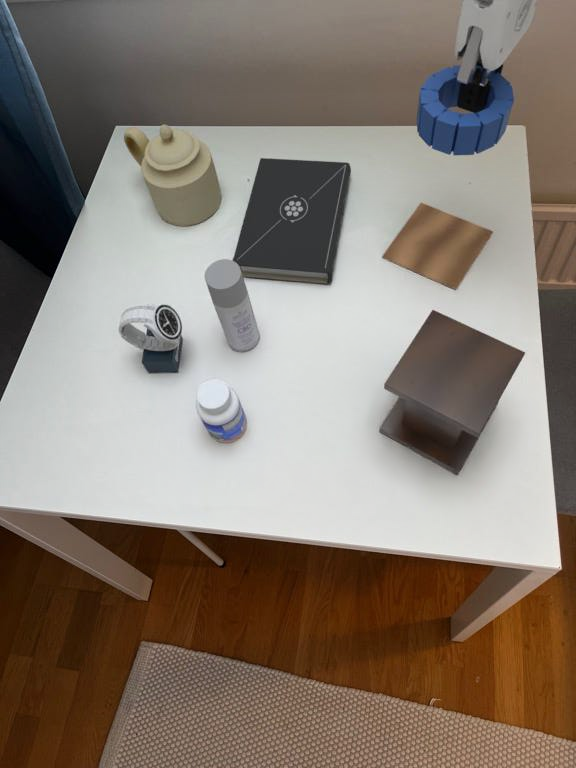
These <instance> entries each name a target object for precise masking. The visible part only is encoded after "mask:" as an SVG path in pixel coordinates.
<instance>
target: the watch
mask: <svg viewBox="0 0 576 768" xmlns="http://www.w3.org/2000/svg"><path fill="white" fill-rule="evenodd" d="M133 323H142V324H143V326H144V327H145V328H146V333H145V332H144V331H142V330H140V329H138V328H137V327H135V326H134V325H132V324H133ZM118 333H119V335H120V338H122V339H123V340H124V341H126V342H127V343H129V344H130V345H131V346H134V348H137V349H140V350H142V351H143V352H142V356H141V357H142V358H141V365H143V368H144V369H145V370H146V371H147V373H148V374H162V373H163V374H167V373H170V374H171V373H173V374H174V373H180V372H179V371H180V363H181V357H182V348H183V341H184V338H183V335H182V333H183V324H182V320H181V317H180V315H179V314H178V312H177V310H176V309H175V308H173V307H172V306H171V304H169V303H162V304H152V303H148V304H147V305H135V306H131V307H129V308H126V309H125V310H124V311H123V312H122V313H121V315H120V321H119V326H118Z"/></svg>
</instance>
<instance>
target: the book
mask: <svg viewBox="0 0 576 768" xmlns="http://www.w3.org/2000/svg"><path fill="white" fill-rule="evenodd" d="M351 168H352V167H351V165H350V163H349V162H347V161H346V162H343V161H326V160H325V161H324V160H307V159H306V160H305V159H289V158H288V159H287V158H286V159H283V158H267V157H265V158H264V157H260V158H259V162H258V166H257V169H256V173H255V177H254V179H253V180H254V181H253V183H252V188H251V192H250V195H249V199H248V202H247V207H246V209H245V213H244V218H243V222H242V225H241V228H240V233H239V236H238V240H237V243H236V247H235V251H234V255H233V257H232V261H234V262H236V263H237V264H238V265H239V267H240V269H241V272H242V275H243V278H248V279H258V280H259V279H260V280H271V281H282V282H293V283H305V284H316V285H326V286H327V285H328V286H329V285H331V284H332V281H333V275H334V271H335V263H336V257H337V252H338V247H339V242H340V235H341V229H342V224H343V219H344V213H345V207H346V202H347V197H348V190H349V185H350V180H351V175H352V169H351Z"/></svg>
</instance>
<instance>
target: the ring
mask: <svg viewBox="0 0 576 768" xmlns="http://www.w3.org/2000/svg"><path fill="white" fill-rule="evenodd" d="M460 66H461V64H458V65H457V64H456V65H452V67H451V66H447V67H445V68H442V69H440V70H438V71H435V72H433V73H432V75H429V77H428V78H427V79H426V80H425V82H424V83H423V84H422V86H420V90H419V96H418V105H417V113H416V133H418V136H419V138H420V139H421V140H422V141H423V142H424V143H425V144H426V145H427V146H428V147H429V148H430V147H431V149H432V150H435V151H437V152H440V153H443V154H446V155H449V156H451V155H452V154H453V156H473V155H475V153H476V155H478V154H481V153H483V152H485V151H487V150H489V149H492V148H493V147H495V145H498V143H499V142H500V140H501V139H502V137H503V135H504V134H505V133H506V130H507V127H508V122H509V120H510V116H511V112H512V109H513V106H514V101H515V95H514V91H513V85H511V82H510V81H509V80H507V78H505V77H504V76H503V75H502V73H501V74H500V73H495V70H493V71H491V72H490V76H489V79H488V81H490V82H491V84H490V89H489V93H488V97H487V101H486V105H485V109H484V110H482V111H480V112H478V113H473V112H471V113H470V112H469V113H468V112H467V113H461V112H457V111H454V110H451V109H450V108H459V107H458V106H457V102H458V97H459V91H460V86H461V82H459V81H457V76H458V73H459V70H460ZM476 68H479V69H481V70H482V71H483V67H482V66H478V65H476Z"/></svg>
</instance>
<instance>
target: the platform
mask: <svg viewBox="0 0 576 768" xmlns="http://www.w3.org/2000/svg"><path fill="white" fill-rule="evenodd" d="M525 354H526V351H523V350H521V349H519V348H517V347H514V346H512V345H510V344H508V343H506V342H504V341H501V340H499V339H497V338H495V337H493V336H491V335H488V334H486V333H484V332H482V331H480V330H478V329H476V328H474V327H471V326H469V325H467V324H465V323H463V322H461V321H458V320H457V319H454V318H452V317H451V316H448V315H446V314H443V313H441V312H440V311H437V310H434V309H432V310H431V311H430V313H429V314H428V316H427V317H426V319H425V320H424V322H423V324H422V325H421V326H420V328H419V329H418V332H417V333H416V334H415V335H414V338H413V339H412V341H411V342H410V344H409V345H408V347H407V348H406V350H405V351H404V353H403V354H402V356H401V358H400V359H399V361H398V362H397V364H396V365H395V367H394V368H393V370H392V371H391V373H390V375H389V376H388V378H387V379H386V380H385V382H384V385H383V389H384V390H386V391H387V392H390V393H391V394H392V395H393V394H394V395H395V396H397V397H398V398H397V400H396V401H395V403H394V404H393V406H392V408H391V409H390V411H389V412H388V414H387V416H386V418H385V419H384V421H383V422H382V423H381V425H380V427H379V433H380V434H382V435H384V436H386V437H388V438H389V439H391V440H393V441H395V442H396V443H399V444H400V445H402V446H404V447H405V448H407V449H409V450H411V451H413V452H415V453H416V454H418V455H420V456H422V457H424V458H425V459H427V460H429V461H431V462H433V463H435V464H436V465H438V466H440V467H441V468H444V469H445V470H447V471H448V472H451V473H452V474H454V475H456V476H458V475H459V474H460V472H461V471H462V469H463V467H464V465H465V463H466V462H467V460H468V458H469V456H470V455H471V453H472V451H473V449H474V447H475V446H476V444H477V442H478V440H479V438H480V437H481V435H482V433H483V431H484V430H485V428H486V426H487V424H488V422H489V421H490V419H491V417H492V415H493V413H494V412H495V410H496V408H497V406H498V404H499V401H500V399H501V398H502V396H503V394H504V393H505V391H506V389H507V387H508V386H509V383H510V381H511V380H512V379H513V376H514V374H515V373H516V371H517V369H518V367H519V366H520V364H521V362H522V360H523V358H524V356H526V355H525Z"/></svg>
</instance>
